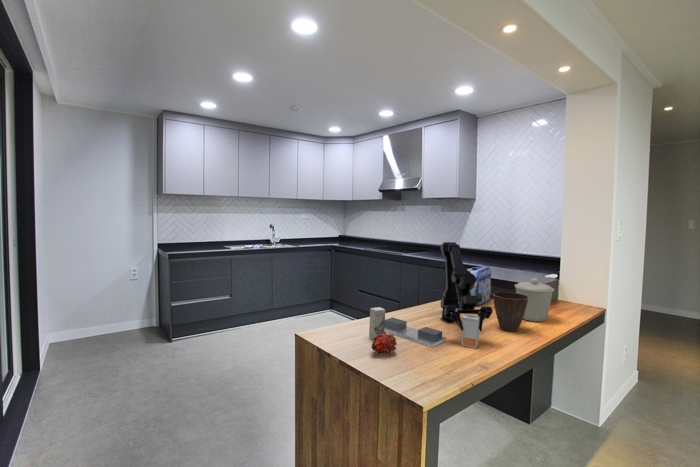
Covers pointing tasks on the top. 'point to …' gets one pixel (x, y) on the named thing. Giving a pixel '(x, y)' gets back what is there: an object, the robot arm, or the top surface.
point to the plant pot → (509, 309)
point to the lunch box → (482, 283)
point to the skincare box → (470, 331)
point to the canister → (535, 299)
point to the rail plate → (414, 332)
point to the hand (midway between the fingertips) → (471, 330)
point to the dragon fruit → (384, 343)
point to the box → (376, 322)
